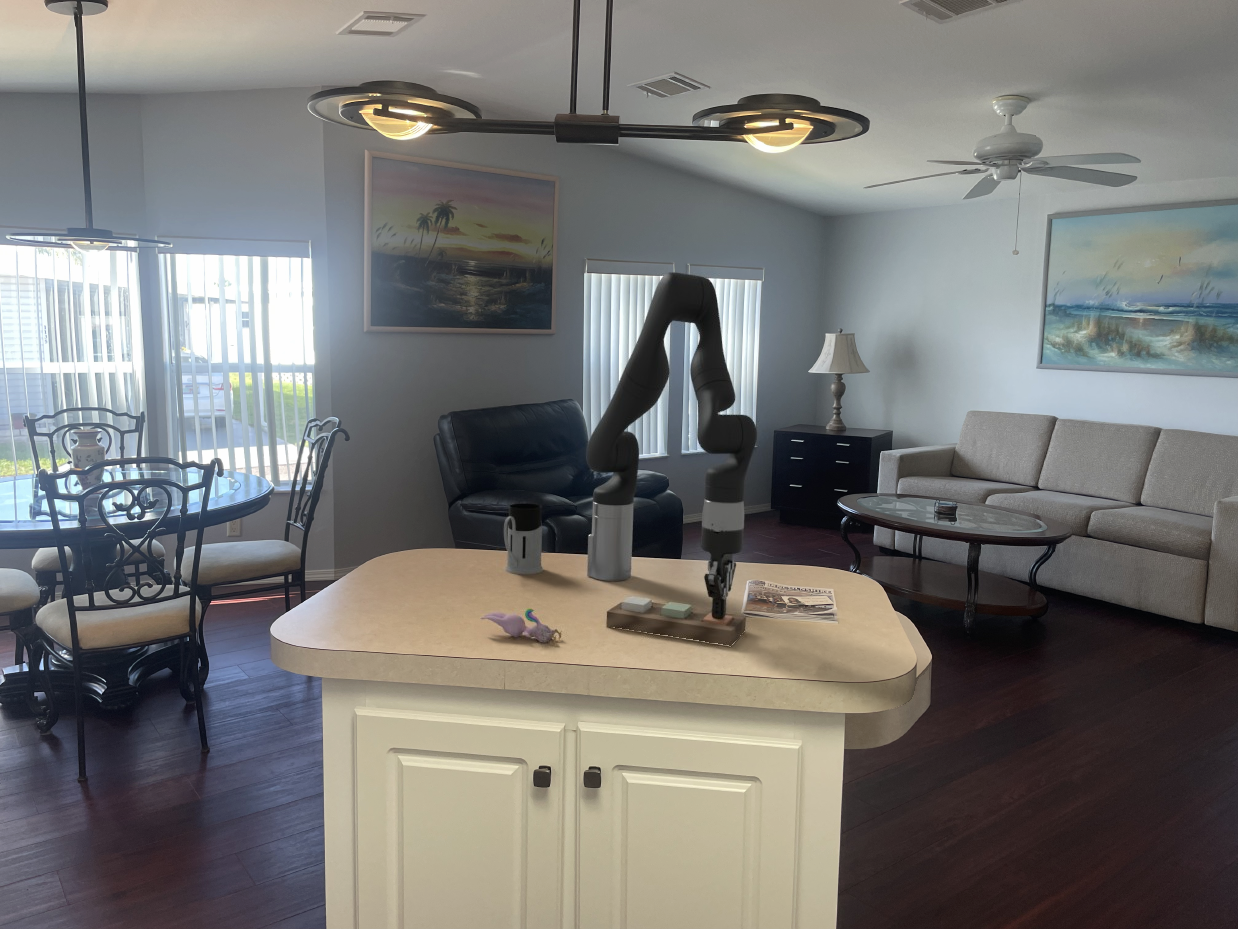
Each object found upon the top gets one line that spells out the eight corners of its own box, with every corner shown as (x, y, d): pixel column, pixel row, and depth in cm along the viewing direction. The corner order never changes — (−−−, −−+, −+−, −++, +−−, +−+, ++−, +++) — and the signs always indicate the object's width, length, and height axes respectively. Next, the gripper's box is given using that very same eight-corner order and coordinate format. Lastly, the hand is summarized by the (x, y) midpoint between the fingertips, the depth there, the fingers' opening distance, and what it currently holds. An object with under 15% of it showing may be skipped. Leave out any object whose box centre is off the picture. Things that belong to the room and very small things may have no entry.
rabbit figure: (563, 644, 161) (488, 621, 166) (568, 613, 160) (494, 590, 164) (549, 655, 155) (473, 630, 160) (555, 623, 154) (478, 599, 159)
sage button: (661, 622, 166) (661, 607, 166) (668, 616, 170) (669, 601, 170) (683, 625, 165) (684, 611, 164) (691, 619, 169) (691, 605, 168)
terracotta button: (702, 634, 163) (702, 619, 163) (709, 627, 167) (709, 612, 167) (725, 637, 162) (726, 622, 161) (732, 631, 166) (732, 616, 165)
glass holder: (549, 567, 211) (550, 505, 209) (521, 581, 198) (523, 514, 196) (516, 563, 214) (517, 501, 212) (486, 576, 201) (487, 510, 199)
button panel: (606, 627, 168) (606, 611, 167) (626, 613, 177) (626, 598, 176) (730, 647, 159) (731, 630, 158) (745, 631, 168) (746, 616, 167)
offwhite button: (621, 616, 169) (621, 601, 169) (629, 610, 173) (630, 596, 173) (642, 619, 168) (643, 605, 167) (651, 613, 172) (651, 599, 171)
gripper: (713, 517, 170) (709, 606, 172) (691, 528, 157) (687, 624, 160) (752, 521, 167) (747, 611, 169) (733, 533, 155) (728, 630, 157)
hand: (718, 617), depth 164 cm, fingers closed
